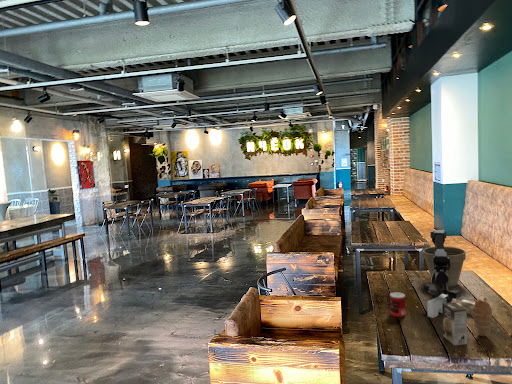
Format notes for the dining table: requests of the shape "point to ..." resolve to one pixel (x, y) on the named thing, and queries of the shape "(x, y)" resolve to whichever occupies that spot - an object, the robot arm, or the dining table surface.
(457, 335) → the coffee box
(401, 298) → the canned food
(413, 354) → the dining table surface
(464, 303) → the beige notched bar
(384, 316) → the dining table surface
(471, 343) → the dining table surface
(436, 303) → the slotted bar
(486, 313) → the cat ice cream
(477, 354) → the dining table surface
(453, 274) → the plant pot
